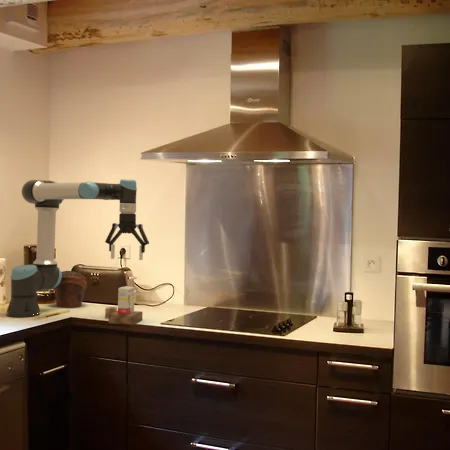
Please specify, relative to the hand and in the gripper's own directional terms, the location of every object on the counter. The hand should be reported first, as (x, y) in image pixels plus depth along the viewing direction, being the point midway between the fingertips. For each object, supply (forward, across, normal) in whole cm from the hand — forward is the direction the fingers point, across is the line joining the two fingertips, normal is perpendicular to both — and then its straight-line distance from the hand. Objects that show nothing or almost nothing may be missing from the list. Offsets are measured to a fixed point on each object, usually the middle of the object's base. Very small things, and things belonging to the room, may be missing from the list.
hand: (126, 259), depth 288 cm
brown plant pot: (+29, -43, +34) cm, 62 cm away
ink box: (+25, 0, 0) cm, 25 cm away
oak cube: (+29, -10, +7) cm, 31 cm away
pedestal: (+29, 0, 0) cm, 29 cm away
